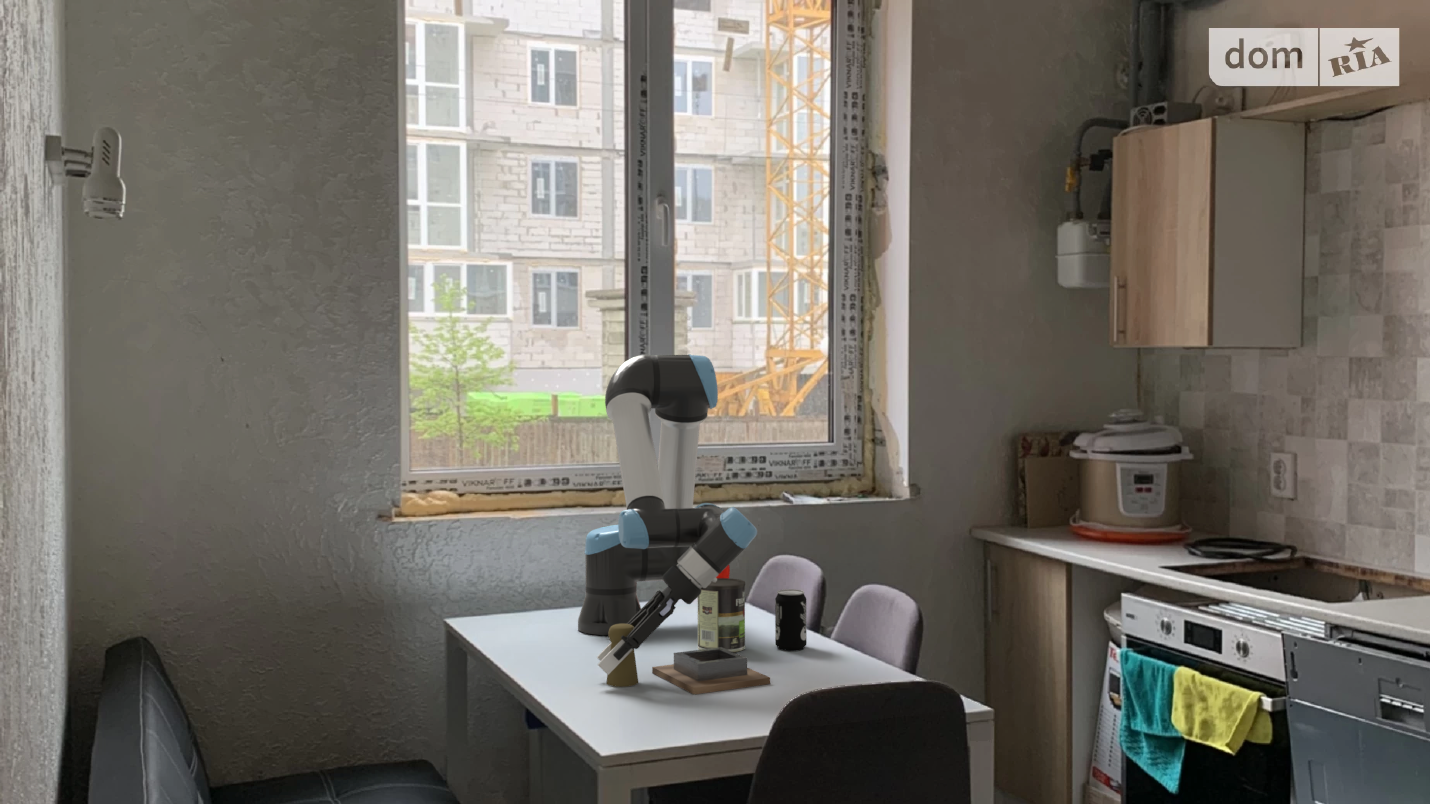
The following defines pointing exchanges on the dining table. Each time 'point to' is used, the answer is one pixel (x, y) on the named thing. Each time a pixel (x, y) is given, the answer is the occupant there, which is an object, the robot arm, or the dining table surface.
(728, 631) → the coffee can
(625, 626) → the cork
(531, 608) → the dining table surface
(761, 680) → the socket plate
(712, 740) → the dining table surface
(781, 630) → the beverage can
